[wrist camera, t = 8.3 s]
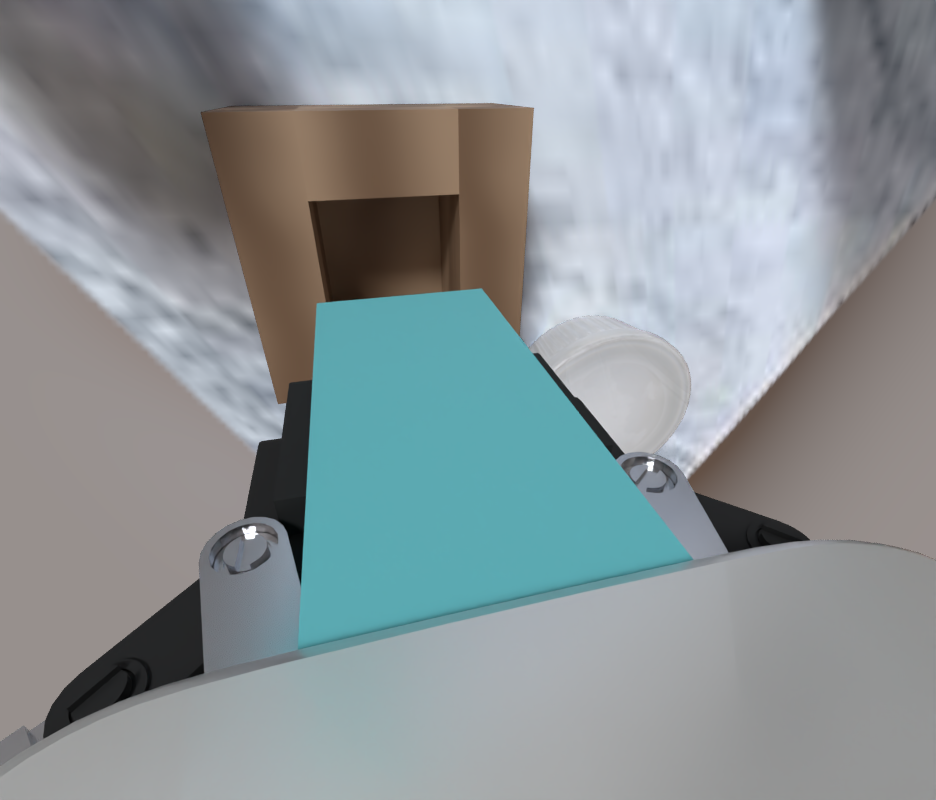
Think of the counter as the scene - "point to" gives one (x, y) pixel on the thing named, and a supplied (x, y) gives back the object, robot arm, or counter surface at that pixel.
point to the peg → (451, 472)
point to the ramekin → (620, 378)
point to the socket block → (370, 209)
